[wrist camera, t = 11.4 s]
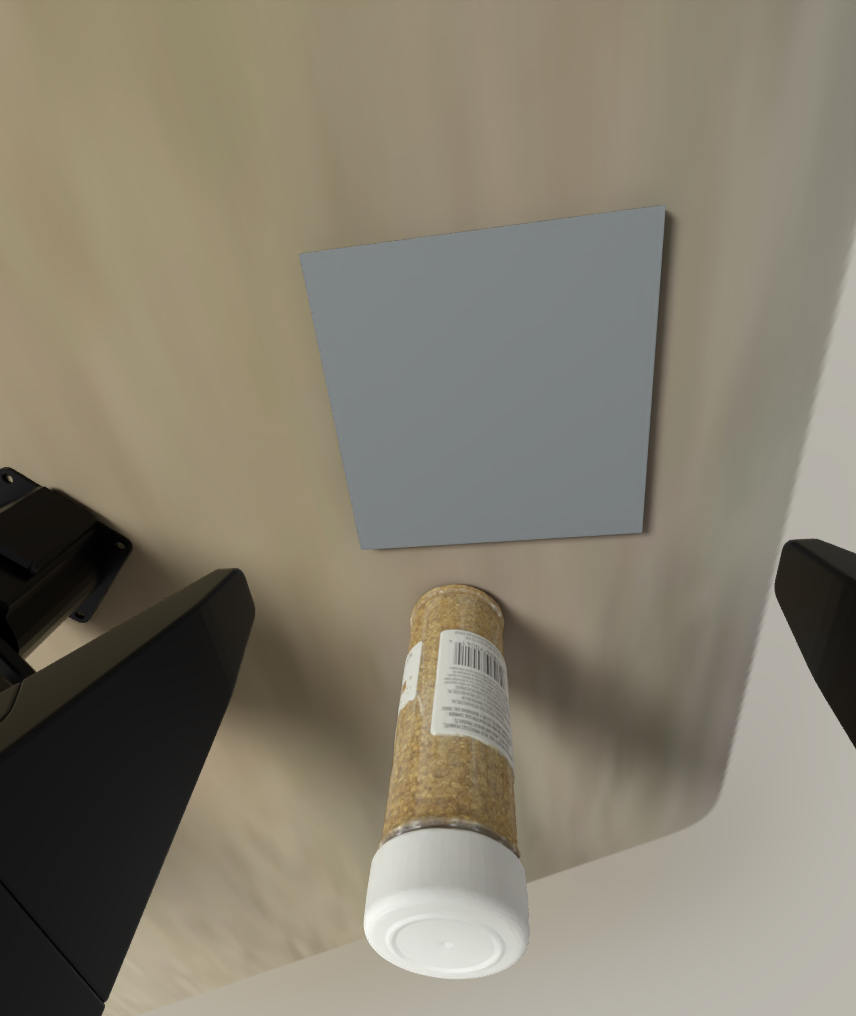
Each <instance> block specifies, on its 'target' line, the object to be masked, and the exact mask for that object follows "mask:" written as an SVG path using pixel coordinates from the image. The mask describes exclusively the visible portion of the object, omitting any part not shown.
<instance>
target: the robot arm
mask: <svg viewBox="0 0 856 1016" xmlns="http://www.w3.org/2000/svg"><path fill="white" fill-rule="evenodd" d="M5 474H8V475H10V476H11V477H12V479H13V482H10V481H8V480H7V479H6V478H5ZM117 542H120V543H122V544H123V545H124V546H125V549H121V548H119V547H118V545H117ZM132 548H133V547H132V544H131V542H130V541H129V540H128V539H127V538H125V537H124V536H122V535H121V534H119V533H117V532H116V531H114V530H112V529H111V528H109V527H107V526H106V525H104V524H102V523H101V522H99V521H98V520H96V518H95V517H94V516H92V515H91V514H89V513H87V512H86V511H84V510H83V509H81V508H79V507H78V506H76V505H74V504H73V503H71V502H69V501H68V500H66V499H65V498H63V497H61V496H60V495H58V494H56V493H55V492H53V491H51V490H50V489H48V488H47V487H42V486H40V485H39V484H37V483H35V482H34V481H32V480H30V479H29V478H27V477H25V476H24V475H22V474H21V473H19V472H17V471H16V470H14V469H12V468H9V467H4V468H1V469H0V1016H102V1013H103V1011H104V1008H105V1004H104V1002H106V1001H107V1000H108V998H109V995H110V993H111V990H112V988H113V985H114V983H115V980H116V978H117V976H118V973H119V971H120V968H121V966H122V963H123V961H124V958H125V956H126V954H127V951H128V949H129V946H130V944H131V941H132V939H133V936H134V934H135V932H136V929H137V927H138V924H139V922H140V919H141V917H142V914H143V912H144V910H145V907H146V905H147V902H148V900H149V897H150V895H151V892H152V890H153V888H154V885H155V883H156V880H157V878H158V875H159V873H160V870H161V868H162V866H163V863H164V861H165V858H166V856H167V853H168V851H169V848H170V846H171V844H172V841H173V839H174V836H175V834H176V831H177V829H178V826H179V824H180V822H181V819H182V817H183V814H184V812H185V809H186V807H187V804H188V802H189V800H190V797H191V795H192V792H193V790H194V787H195V785H196V782H197V780H198V778H199V775H200V773H201V770H202V768H203V765H204V763H205V760H206V758H207V756H208V753H209V751H210V748H211V746H212V743H213V741H214V738H215V736H216V734H217V731H218V729H219V726H220V724H221V721H222V719H223V717H224V714H225V712H226V709H227V707H228V704H229V702H230V699H231V696H232V694H233V691H234V688H235V685H236V681H237V678H238V674H239V671H240V667H241V664H242V660H243V657H244V653H245V650H246V646H247V643H248V639H249V636H250V632H251V629H252V625H253V622H254V618H255V606H254V602H253V599H252V596H251V593H250V590H249V587H248V584H247V581H246V578H245V575H244V573H243V572H242V570H240V569H238V568H228V569H217V570H215V571H213V572H211V573H210V574H208V575H206V576H204V577H203V578H201V579H199V580H197V581H196V582H194V583H192V584H190V585H189V586H187V587H185V588H183V589H182V590H180V591H178V592H176V593H175V594H173V595H171V596H169V597H168V598H166V599H164V600H162V601H161V602H159V603H157V604H155V605H154V606H152V607H150V608H148V609H147V610H145V611H143V612H141V613H140V614H138V615H136V616H134V617H133V618H131V619H129V620H127V621H126V622H124V623H122V624H120V625H119V626H117V627H115V628H113V629H112V630H110V631H108V632H106V633H105V634H103V635H101V636H99V637H98V638H96V639H94V640H92V641H91V642H89V643H87V644H85V645H84V646H82V647H80V648H78V649H77V650H75V651H73V652H71V653H70V654H68V655H66V656H64V657H63V658H61V659H59V660H57V661H56V662H54V663H52V664H50V665H49V666H47V667H45V668H43V669H42V670H40V671H38V672H36V671H35V670H34V669H33V668H32V667H31V666H30V665H29V664H28V663H27V662H26V661H25V659H26V658H27V657H28V656H29V655H30V654H31V653H32V652H33V651H34V650H35V649H36V648H37V647H38V646H39V645H40V644H41V643H42V642H43V641H44V640H45V639H46V638H47V637H48V636H49V635H50V634H51V633H52V632H53V631H54V630H55V629H56V628H57V627H58V626H59V625H60V624H61V623H62V622H64V621H65V620H66V619H67V618H68V617H70V618H72V619H74V620H76V621H78V622H81V623H85V622H87V621H89V620H90V618H91V617H92V615H93V614H94V612H95V611H96V609H97V607H98V606H99V604H100V602H101V601H102V599H103V597H104V596H105V594H106V592H107V591H108V589H109V587H110V586H111V584H112V583H113V581H114V579H115V578H116V576H117V574H118V573H119V571H120V569H121V568H122V566H123V564H124V563H125V561H126V559H127V558H128V556H129V555H130V553H131V551H132ZM775 594H776V598H777V600H778V602H779V605H780V607H781V609H782V611H783V613H784V616H785V617H786V620H787V622H788V624H789V626H790V628H791V631H792V633H793V635H794V637H795V639H796V642H797V643H798V646H799V648H800V650H801V653H802V655H803V657H804V659H805V661H806V663H807V666H808V668H809V670H810V672H811V674H812V676H813V677H814V680H815V682H816V683H817V685H818V687H819V688H820V690H821V692H822V693H823V696H824V697H825V699H826V701H827V702H828V704H829V705H830V707H831V709H832V710H833V712H834V714H835V715H836V717H837V719H838V720H839V722H840V724H841V725H842V727H843V729H844V730H845V732H846V733H847V735H848V737H849V739H850V740H851V742H852V743H853V745H854V747H855V748H856V554H855V553H853V552H850V551H848V550H845V549H843V548H840V547H837V546H835V545H832V544H830V543H827V542H824V541H821V540H819V539H796V540H789V541H788V542H786V543H785V545H784V546H783V549H782V552H781V557H780V561H779V566H778V570H777V575H776V579H775ZM77 611H79V612H82V613H83V614H84V616H85V617H82V616H80V615H78V613H77Z"/></svg>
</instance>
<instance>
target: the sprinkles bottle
mask: <svg viewBox="0 0 856 1016" xmlns="http://www.w3.org/2000/svg"><path fill="white" fill-rule="evenodd" d="M410 628H411V637H410V642H409V652H408V656H407V659H406V662H405V668H404V675H403V682H402V689H401V697H400V704H399V711H398V721H397V728H396V734H395V744H394V759H393V769H392V773H391V777H390V786H389V796H388V800H387V808H386V813H385V824H384V828H383V838H382V839H381V840H380V841H379V844H378V851H377V852H376V854H375V856H374V858H373V861H372V864H371V870H370V877H369V883H368V890H367V898H366V906H365V914H364V930H365V934H366V937H367V939H368V941H369V943H370V945H371V946H372V947H373V948H374V949H375V951H376V952H377V953H378V954H380V955H381V956H382V957H383V958H385V959H386V960H388V961H389V962H391V963H393V964H394V965H396V966H398V967H401V968H403V969H406V970H408V971H411V972H414V973H418V974H422V975H426V976H430V977H437V978H447V979H468V978H479V977H484V976H488V975H492V974H495V973H497V972H501V971H503V970H505V969H507V968H509V967H510V966H512V965H513V964H514V963H516V962H517V961H518V960H519V959H520V958H521V957H522V956H523V954H524V953H525V951H526V948H527V946H528V941H529V913H528V897H527V886H526V875H525V871H524V868H523V866H522V864H521V862H520V861H519V859H518V858H520V852H519V850H518V848H517V828H516V816H515V802H514V787H513V784H514V779H515V774H514V760H513V745H512V733H511V720H510V705H509V693H508V680H507V669H506V664H505V661H504V654H503V639H502V634H503V629H504V617H503V614H502V611H501V609H500V607H499V605H498V604H497V603H496V602H495V601H494V599H493V598H491V597H490V596H489V595H487V594H486V593H485V592H483V591H481V590H479V589H476V588H474V587H471V586H467V585H461V584H452V585H446V586H440V587H436V588H433V589H432V590H430V591H429V592H427V593H425V594H424V595H423V596H422V597H421V598H420V599H419V601H418V602H417V603H416V605H415V606H414V608H413V610H412V613H411V620H410Z"/></svg>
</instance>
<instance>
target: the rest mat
mask: <svg viewBox="0 0 856 1016" xmlns="http://www.w3.org/2000/svg"><path fill="white" fill-rule="evenodd" d="M665 207H666V205H659V206H652V207H644V208H637V209H629V210H622V211H614V212H607V213H599V214H592V215H584V216H577V217H570V218H562V219H555V220H547V221H540V222H532V223H525V224H517V225H510V226H502V227H495V228H487V229H480V230H472V231H465V232H458V233H450V234H443V235H435V236H428V237H420V238H413V239H405V240H398V241H390V242H383V243H375V244H368V245H361V246H353V247H346V248H338V249H331V250H323V251H316V252H308V253H302V254H299V256H300V261H301V266H302V271H303V275H304V280H305V285H306V290H307V294H308V299H309V304H310V309H311V313H312V318H313V323H314V328H315V332H316V337H317V342H318V347H319V352H320V356H321V361H322V366H323V371H324V375H325V380H326V385H327V390H328V394H329V399H330V404H331V409H332V413H333V418H334V423H335V428H336V432H337V437H338V442H339V447H340V451H341V456H342V461H343V466H344V470H345V475H346V480H347V485H348V489H349V494H350V499H351V504H352V508H353V513H354V518H355V523H356V527H357V532H358V537H359V542H360V546H361V550H368V549H385V548H401V547H418V546H434V545H450V544H467V543H483V542H499V541H516V540H532V539H548V538H565V537H581V536H598V535H614V534H630V533H642V526H643V512H644V498H645V484H646V470H647V457H648V443H649V429H650V415H651V401H652V387H653V373H654V360H655V346H656V332H657V318H658V304H659V290H660V276H661V262H662V249H663V235H664V221H665Z"/></svg>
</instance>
